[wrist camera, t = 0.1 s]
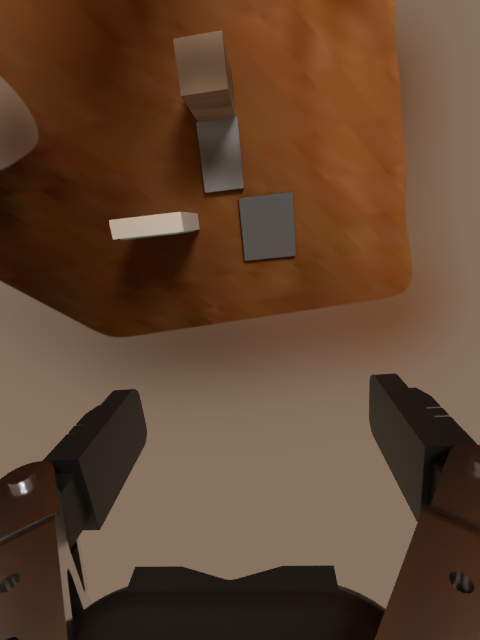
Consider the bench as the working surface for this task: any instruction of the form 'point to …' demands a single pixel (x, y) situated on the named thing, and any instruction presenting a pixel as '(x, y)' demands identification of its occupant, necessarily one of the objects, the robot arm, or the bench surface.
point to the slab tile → (154, 225)
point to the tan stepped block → (211, 107)
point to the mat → (268, 226)
